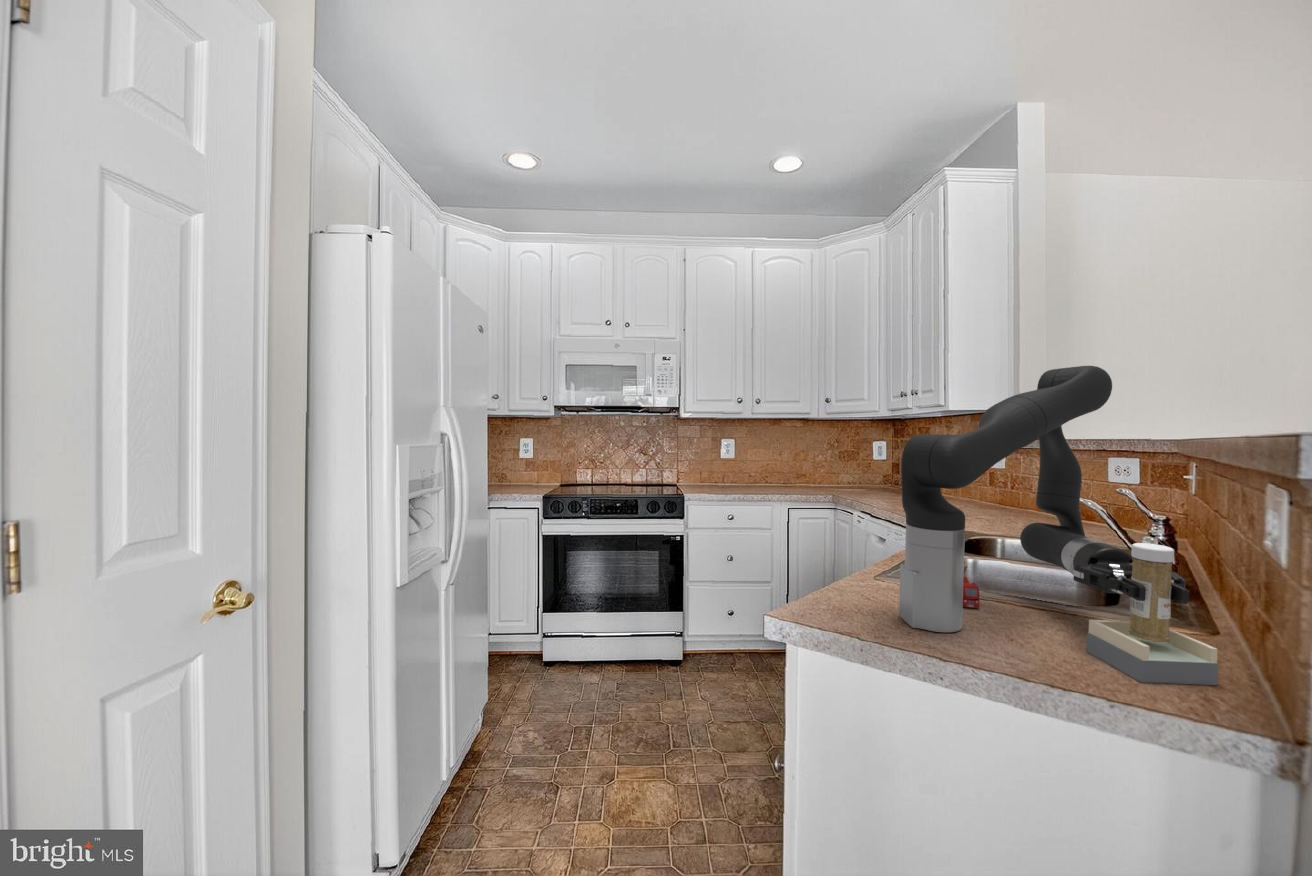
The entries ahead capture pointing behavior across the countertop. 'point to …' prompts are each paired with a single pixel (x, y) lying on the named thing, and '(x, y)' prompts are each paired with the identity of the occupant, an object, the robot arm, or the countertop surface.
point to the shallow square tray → (1153, 655)
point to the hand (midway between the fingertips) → (1163, 595)
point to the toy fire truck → (970, 592)
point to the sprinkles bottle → (1152, 591)
